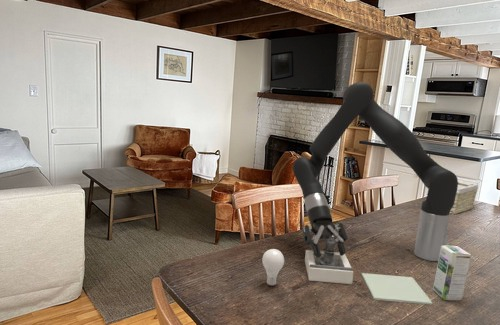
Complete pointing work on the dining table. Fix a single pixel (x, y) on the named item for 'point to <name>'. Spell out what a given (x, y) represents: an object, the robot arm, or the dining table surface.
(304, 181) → the robot arm
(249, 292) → the dining table surface
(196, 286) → the dining table surface
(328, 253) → the grey chess piece
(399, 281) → the mat
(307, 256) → the holder
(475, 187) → the storage basket
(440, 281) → the syrup box
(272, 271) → the lightbulb
